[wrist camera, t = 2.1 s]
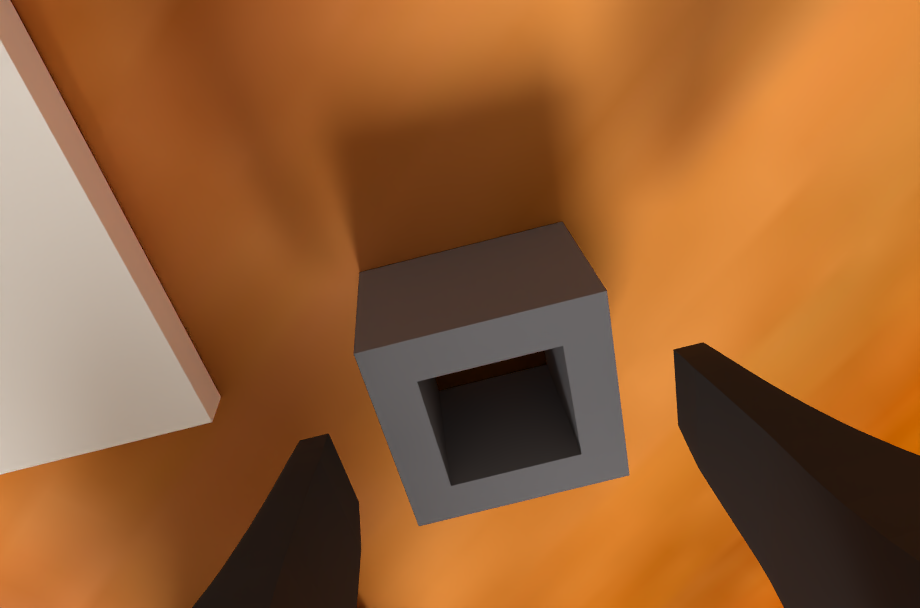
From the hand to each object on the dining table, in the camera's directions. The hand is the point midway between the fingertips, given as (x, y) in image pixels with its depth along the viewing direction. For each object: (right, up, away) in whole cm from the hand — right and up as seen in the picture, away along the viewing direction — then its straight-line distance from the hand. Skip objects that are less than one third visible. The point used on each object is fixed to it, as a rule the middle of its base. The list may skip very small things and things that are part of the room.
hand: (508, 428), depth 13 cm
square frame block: (0, +2, +3) cm, 4 cm away
